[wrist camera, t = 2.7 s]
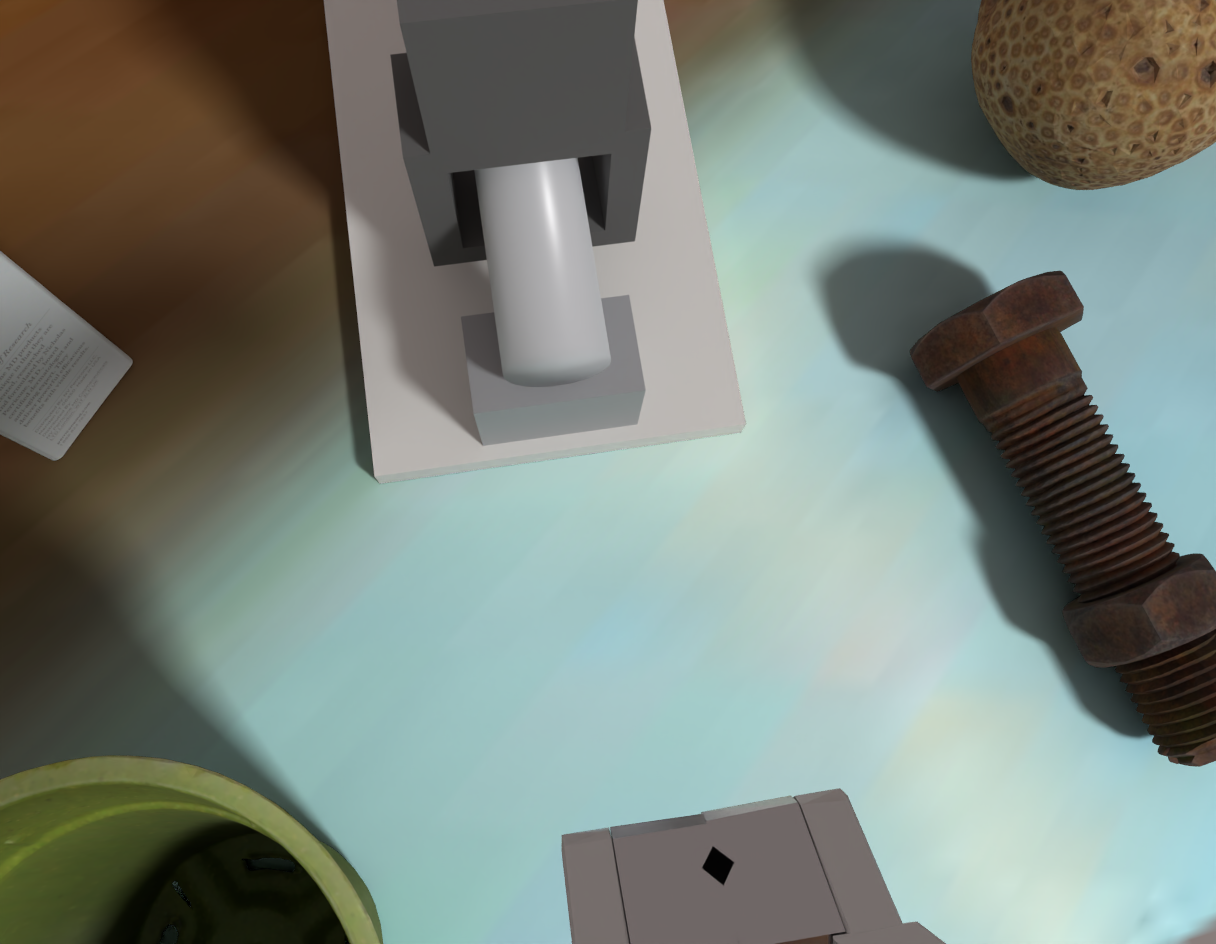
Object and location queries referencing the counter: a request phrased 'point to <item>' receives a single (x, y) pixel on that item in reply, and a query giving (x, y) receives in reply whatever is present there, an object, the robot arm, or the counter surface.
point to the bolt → (1087, 506)
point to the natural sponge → (1097, 85)
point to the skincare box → (49, 366)
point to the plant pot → (165, 861)
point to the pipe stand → (527, 288)
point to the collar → (519, 108)
